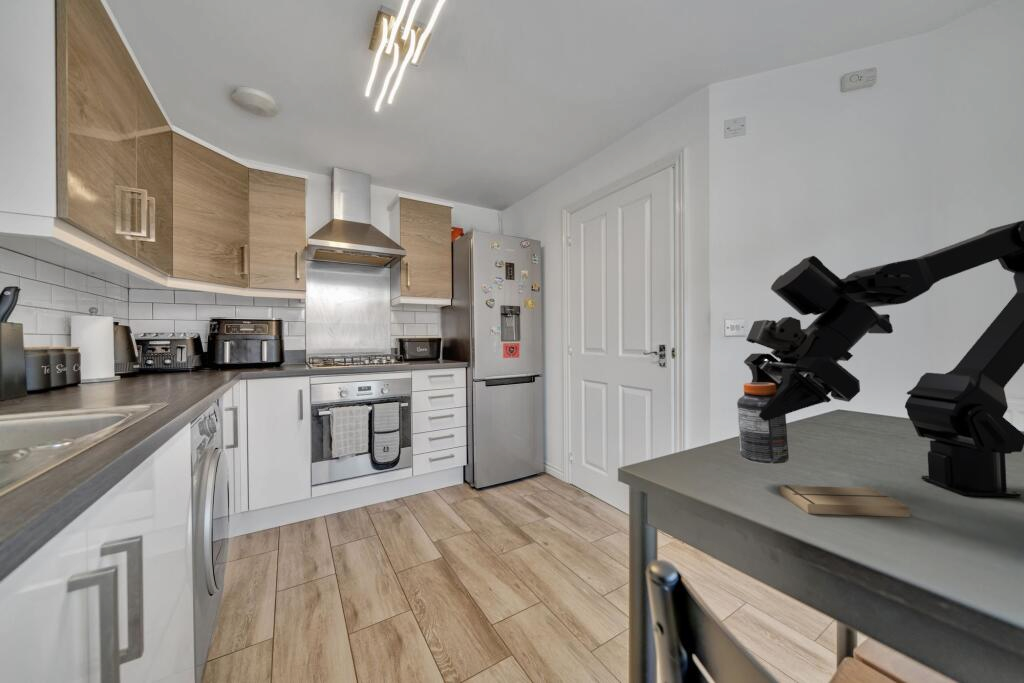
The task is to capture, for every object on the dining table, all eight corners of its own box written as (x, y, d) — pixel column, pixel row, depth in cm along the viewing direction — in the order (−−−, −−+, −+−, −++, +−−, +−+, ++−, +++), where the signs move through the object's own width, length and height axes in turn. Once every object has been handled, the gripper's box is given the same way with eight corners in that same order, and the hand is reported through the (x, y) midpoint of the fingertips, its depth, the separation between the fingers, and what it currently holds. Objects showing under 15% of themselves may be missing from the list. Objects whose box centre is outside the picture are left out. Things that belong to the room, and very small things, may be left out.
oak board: (869, 496, 50) (869, 487, 50) (909, 516, 45) (909, 506, 45) (780, 494, 52) (780, 485, 52) (808, 513, 46) (807, 503, 46)
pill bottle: (773, 453, 58) (769, 380, 58) (798, 465, 52) (793, 384, 52) (733, 453, 59) (729, 381, 59) (753, 465, 53) (748, 385, 53)
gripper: (753, 306, 64) (689, 372, 66) (826, 291, 46) (734, 384, 47) (807, 350, 63) (740, 416, 65) (904, 352, 44) (807, 445, 46)
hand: (751, 414), depth 56 cm, fingers closed on pill bottle, 6 cm apart
